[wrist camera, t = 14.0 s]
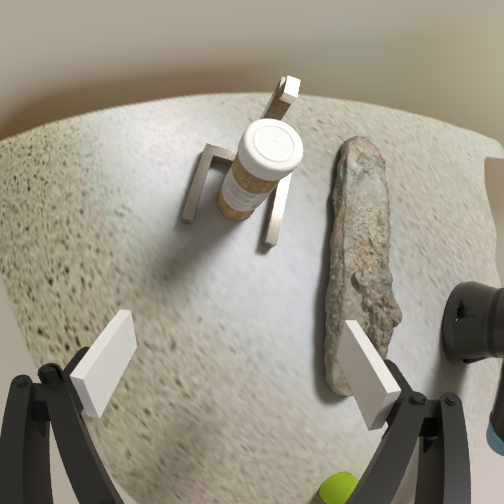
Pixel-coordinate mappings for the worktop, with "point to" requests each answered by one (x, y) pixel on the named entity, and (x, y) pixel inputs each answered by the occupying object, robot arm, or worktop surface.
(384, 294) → the elongated rock
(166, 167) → the worktop surface
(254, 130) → the sprinkles bottle
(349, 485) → the soap dispenser
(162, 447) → the worktop surface
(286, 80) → the metal stand
